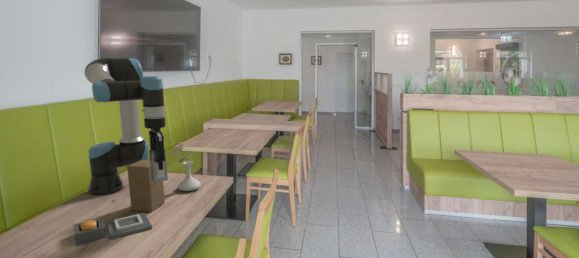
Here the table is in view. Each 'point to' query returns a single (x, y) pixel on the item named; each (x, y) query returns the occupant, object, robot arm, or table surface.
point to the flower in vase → (189, 181)
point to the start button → (88, 225)
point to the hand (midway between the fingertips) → (159, 175)
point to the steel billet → (153, 167)
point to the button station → (89, 232)
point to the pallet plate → (128, 225)
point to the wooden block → (144, 188)
